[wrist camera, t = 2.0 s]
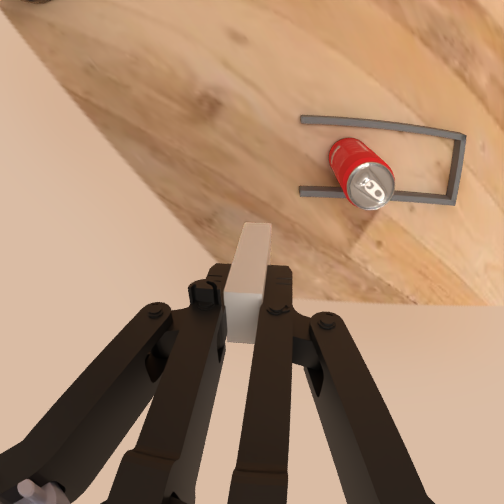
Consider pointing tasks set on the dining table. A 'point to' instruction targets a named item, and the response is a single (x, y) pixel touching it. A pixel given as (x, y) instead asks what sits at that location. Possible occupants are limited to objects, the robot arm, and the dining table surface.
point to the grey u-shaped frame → (458, 143)
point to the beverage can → (361, 174)
